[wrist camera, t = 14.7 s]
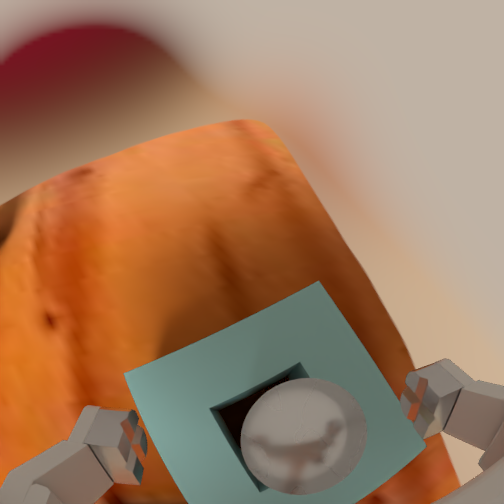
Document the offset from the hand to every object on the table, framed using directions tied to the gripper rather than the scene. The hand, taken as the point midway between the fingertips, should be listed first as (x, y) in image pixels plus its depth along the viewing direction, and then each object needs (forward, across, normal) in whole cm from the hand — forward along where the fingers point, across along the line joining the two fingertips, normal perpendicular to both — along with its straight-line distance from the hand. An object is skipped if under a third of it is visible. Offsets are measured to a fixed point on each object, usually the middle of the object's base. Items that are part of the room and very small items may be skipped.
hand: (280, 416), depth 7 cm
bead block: (+10, -1, +11) cm, 15 cm away
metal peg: (+10, -1, +11) cm, 15 cm away
